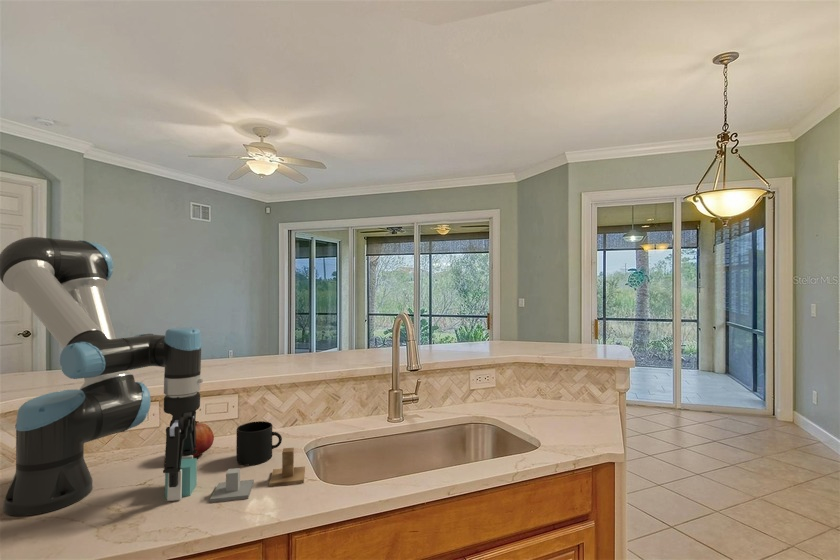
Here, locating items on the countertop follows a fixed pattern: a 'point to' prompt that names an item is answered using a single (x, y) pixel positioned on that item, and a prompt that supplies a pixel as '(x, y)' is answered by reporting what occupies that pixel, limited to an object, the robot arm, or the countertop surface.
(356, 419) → the countertop surface
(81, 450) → the robot arm
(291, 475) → the brown base with post
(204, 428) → the fruit
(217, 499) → the grey post
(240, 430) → the mug
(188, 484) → the teal rectangular block
